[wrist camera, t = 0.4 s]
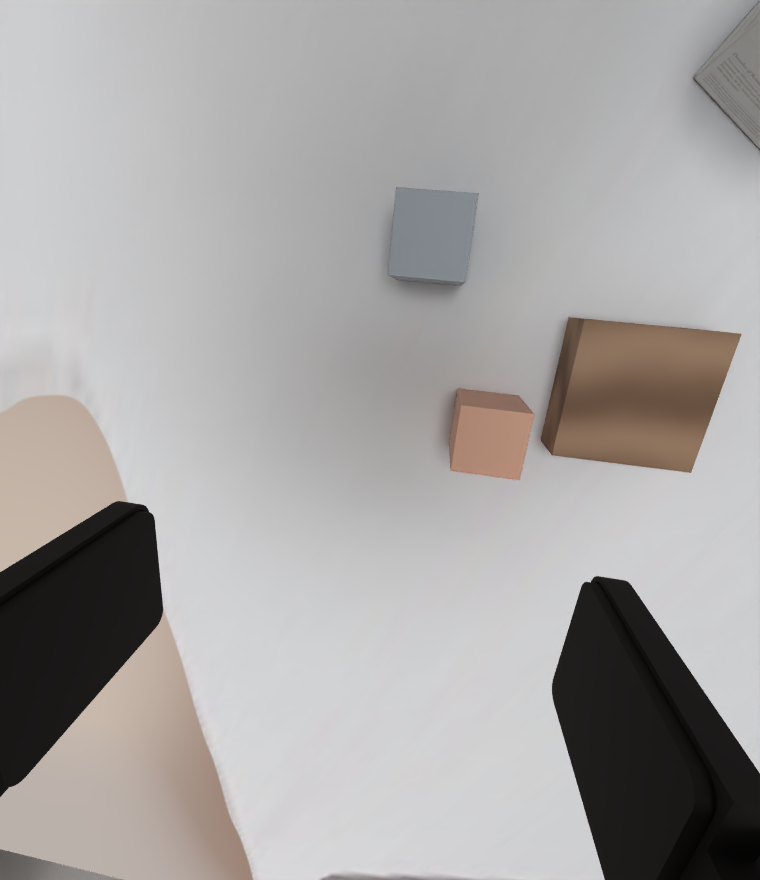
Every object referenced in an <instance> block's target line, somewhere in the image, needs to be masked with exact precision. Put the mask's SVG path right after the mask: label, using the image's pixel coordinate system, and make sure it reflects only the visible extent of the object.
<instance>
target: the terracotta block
mask: <svg viewBox="0 0 760 880" xmlns="http://www.w3.org/2000/svg"><path fill="white" fill-rule="evenodd" d="M533 418H534V413H533V412H532V411H531V410H530V409H529V407H528V406H527V405H526V404H525V403H524V401H523V400H522V399H521V398H520V397H519V396H516V395H508V394H499V393H491V392H482V391H474V390H465V389H458V390H457V397H456V403H455V409H454V416H453V422H452V428H451V435H450V441H449V453H450V468H451V471H456V472H464V473H471V474H478V475H485V476H493V477H500V478H507V479H514V480H520V476H521V472H522V467H523V463H524V458H525V454H526V449H527V445H528V441H529V436H530V432H531V427H532V423H533Z"/></svg>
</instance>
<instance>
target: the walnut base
mask: <svg viewBox="0 0 760 880" xmlns="http://www.w3.org/2000/svg"><path fill="white" fill-rule="evenodd" d="M740 337H741V334H737V333H727V332H718V331H708V330H697V329H687V328H676V327H666V326H655V325H644V324H634V323H623V322H612V321H602V320H591V319H581V318H570V317H569V319H568V323H567V327H566V332H565V336H564V340H563V345H562V349H561V354H560V358H559V362H558V367H557V371H556V375H555V380H554V384H553V389H552V393H551V397H550V402H549V406H548V410H547V415H546V419H545V424H544V428H543V432H542V437H541V441H542V442H543V444H544V445H545V447H546V448H547V449H548V451H549V452H550V453H551V455H555V456H563V457H571V458H579V459H586V460H594V461H602V462H610V463H618V464H626V465H634V466H642V467H650V468H658V469H666V470H674V471H682V472H690V473H691V471H692V468H693V466H694V463H695V460H696V457H697V455H698V452H699V449H700V446H701V444H702V441H703V438H704V436H705V433H706V430H707V427H708V425H709V422H710V419H711V416H712V414H713V411H714V408H715V405H716V403H717V400H718V397H719V394H720V392H721V389H722V386H723V383H724V381H725V378H726V375H727V372H728V370H729V367H730V364H731V361H732V359H733V356H734V353H735V351H736V348H737V345H738V342H739V340H740Z"/></svg>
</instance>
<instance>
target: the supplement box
mask: <svg viewBox="0 0 760 880" xmlns="http://www.w3.org/2000/svg"><path fill="white" fill-rule="evenodd" d="M694 78H695V79H696V80H697V82H698V83H699V84H700V85H701V86H702V87H703V88H704V90H705V91H706V92H707V93H708V94H709V95H710V96H711V97H712V98H713V99H714V100H715V101H716V102H717V104H718V105H719V106H720V107H721V108H722V109H723V110H724V111H725V112H726V113H727V114H728V115H729V117H730V118H731V119H732V120H733V121H734V122H735V123H736V124H737V125H738V126H739V127H740V128H741V129H742V131H743V132H744V133H745V134H746V135H747V136H748V137H749V138H750V139H751V140H752V141H753V142H754V144H755V145H756V146H757V147H758V148H759V149H760V1H759V2H758V4H757V5H756V6H755V7H754V8H753V9H752V10H751V11H750V13H749V14H748V15H747V16H746V17H745V18H744V19H743V21H742V22H741V23H740V24H739V25H738V26H737V27H736V29H735V30H734V31H733V32H732V33H731V34H730V35H729V37H728V38H727V39H726V40H725V41H724V42H723V43H722V45H721V46H720V47H719V48H718V49H717V50H716V51H715V53H714V54H713V55H712V56H711V57H710V58H709V59H708V61H707V62H706V63H705V64H704V65H703V66H702V68H701V69H700V70H699V71H698V72H697V73H696V74H695V76H694Z"/></svg>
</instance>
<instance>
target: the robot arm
mask: <svg viewBox="0 0 760 880" xmlns="http://www.w3.org/2000/svg"><path fill="white" fill-rule="evenodd" d="M162 613H163V603H162V593H161V583H160V572H159V562H158V551H157V541H156V530H155V520H154V516H153V515H152V514H151V513H149V510H148V509H147V507H146V506H144V505H141V504H134V503H128V502H120V501H117V502H115V503H112V504H111V505H109V506H108V507H106V508H104V509H103V510H101V511H100V512H98V513H96V514H94V515H93V516H91V517H90V518H88V519H86V520H85V521H83V522H81V523H80V524H78V525H77V526H75V527H73V528H72V529H70V530H68V531H67V532H65V533H64V534H62V535H60V536H59V537H57V538H55V539H54V540H52V541H50V542H49V543H47V544H46V545H44V546H42V547H41V548H39V549H37V550H36V551H34V552H33V553H31V554H29V555H28V556H26V557H24V558H23V559H21V560H20V561H18V562H16V563H15V564H13V565H11V566H10V567H8V568H7V569H5V570H4V571H2V572H0V797H1V796H2V795H3V793H4V792H5V791H6V790H7V789H8V788H9V787H12V786H14V785H16V784H18V783H19V782H21V781H22V780H23V779H24V778H25V777H26V776H27V775H28V774H29V772H30V771H31V770H32V769H33V768H34V767H35V766H36V764H37V763H38V762H39V761H40V760H41V758H43V756H44V755H45V754H46V753H47V752H48V751H49V750H50V748H51V747H52V746H53V745H54V744H55V743H56V741H57V740H58V739H59V738H60V737H61V736H62V735H63V733H64V732H65V731H66V730H67V729H68V727H70V725H71V724H72V723H73V722H74V721H75V720H76V719H77V717H78V716H79V715H80V714H81V713H82V711H84V709H85V708H86V707H87V706H88V705H89V704H90V702H91V701H92V700H93V699H94V698H95V697H96V696H97V694H98V693H99V692H100V691H101V690H102V689H103V688H104V686H105V685H106V684H107V683H108V682H109V681H110V679H111V678H112V677H113V676H114V675H115V674H116V673H117V672H118V670H119V669H120V668H121V667H122V666H123V665H124V663H125V662H126V661H127V660H128V659H129V658H130V656H131V655H132V654H133V653H134V652H135V651H136V650H137V649H138V647H139V646H140V645H141V644H142V643H143V642H144V640H145V639H146V638H147V637H148V636H149V635H150V634H151V632H152V631H153V630H154V629H155V628H156V626H157V625H158V624H159V622H160V620H161V617H162ZM552 695H553V701H554V705H555V708H556V712H557V715H558V719H559V722H560V726H561V729H562V733H563V736H564V739H565V743H566V746H567V750H568V753H569V757H570V760H571V764H572V767H573V771H574V774H575V778H576V781H577V785H578V788H579V791H580V795H581V798H582V802H583V805H584V809H585V812H586V816H587V819H588V823H589V826H590V830H591V833H592V836H593V840H594V843H595V847H596V850H597V854H598V857H599V861H600V864H601V868H602V871H603V875H604V878H605V880H760V773H759V772H758V770H757V769H756V767H755V766H754V764H753V763H752V761H751V760H750V758H749V757H748V756H747V754H746V753H745V751H744V750H743V748H742V747H741V745H740V744H739V742H738V741H737V739H736V738H735V737H734V735H733V734H732V732H731V731H730V729H729V728H728V726H727V725H726V723H725V722H724V720H723V719H722V717H721V716H720V715H719V713H718V712H717V710H716V709H715V707H714V706H713V704H712V703H711V701H710V700H709V698H708V697H707V696H706V694H705V693H704V691H703V690H702V688H701V687H700V685H699V684H698V682H697V681H696V679H695V678H694V676H693V675H692V674H691V672H690V671H689V669H688V668H687V666H686V665H685V663H684V662H683V660H682V659H681V657H680V656H679V655H678V653H677V652H676V650H675V649H674V647H673V646H672V644H671V643H670V641H669V640H668V638H667V637H666V635H665V634H664V633H663V631H662V630H661V628H660V627H659V625H658V624H657V622H656V621H655V619H654V618H653V616H652V615H651V614H650V612H649V611H648V609H647V608H646V606H645V605H644V603H643V602H642V600H641V599H640V597H639V596H638V594H637V593H636V592H635V590H634V589H633V587H632V586H631V585H630V583H629V582H627V581H624V580H618V579H612V578H605V577H599V576H596V577H594V578H593V579H592V581H591V583H590V582H585V583H584V584H583V585H582V587H581V590H580V593H579V596H578V600H577V603H576V606H575V610H574V613H573V616H572V619H571V623H570V626H569V629H568V633H567V636H566V639H565V642H564V646H563V649H562V652H561V655H560V659H559V662H558V665H557V669H556V672H555V675H554V678H553V683H552ZM0 880H122V879H118V878H114V877H110V876H106V875H102V874H98V873H94V872H90V871H86V870H82V869H78V868H74V867H70V866H66V865H62V864H57V863H54V862H50V861H45V860H41V859H37V858H33V857H29V856H25V855H20V854H17V853H13V852H9V851H5V850H0Z"/></svg>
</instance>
